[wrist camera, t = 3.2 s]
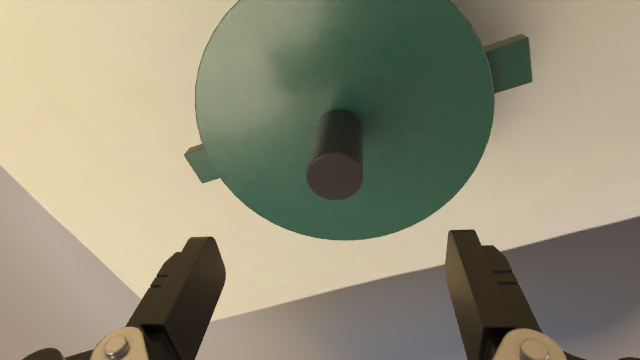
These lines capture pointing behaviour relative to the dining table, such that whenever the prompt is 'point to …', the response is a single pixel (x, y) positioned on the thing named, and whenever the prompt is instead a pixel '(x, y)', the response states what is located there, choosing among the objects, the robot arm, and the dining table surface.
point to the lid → (344, 111)
